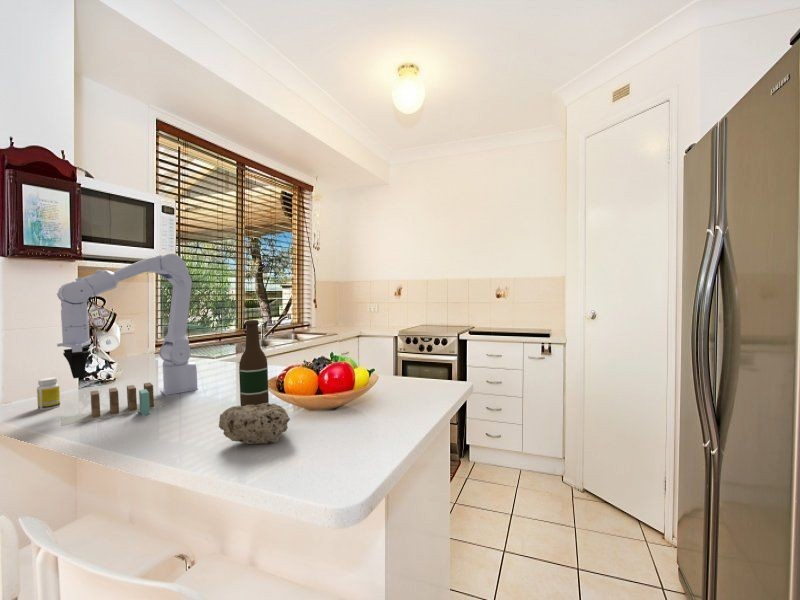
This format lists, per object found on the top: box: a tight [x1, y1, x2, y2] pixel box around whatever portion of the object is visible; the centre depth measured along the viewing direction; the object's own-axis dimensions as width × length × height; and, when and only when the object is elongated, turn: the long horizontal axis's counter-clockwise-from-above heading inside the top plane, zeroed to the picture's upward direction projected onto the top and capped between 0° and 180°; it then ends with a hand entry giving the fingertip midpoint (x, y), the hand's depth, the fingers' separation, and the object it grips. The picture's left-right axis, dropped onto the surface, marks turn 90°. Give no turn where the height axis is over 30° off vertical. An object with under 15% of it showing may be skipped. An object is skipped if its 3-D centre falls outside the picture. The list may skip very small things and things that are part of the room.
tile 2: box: [126, 384, 138, 411], centre depth 109 cm, size 2×5×6 cm, turn 41°
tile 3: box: [108, 387, 120, 414], centre depth 106 cm, size 2×5×6 cm, turn 41°
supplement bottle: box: [36, 376, 61, 411], centre depth 112 cm, size 5×5×8 cm
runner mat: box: [60, 399, 165, 427], centre depth 106 cm, size 22×8×1 cm, turn 131°
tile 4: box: [89, 389, 101, 418], centre depth 104 cm, size 2×5×6 cm, turn 41°
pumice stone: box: [218, 402, 291, 445], centre depth 84 cm, size 14×12×8 cm
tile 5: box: [138, 388, 151, 416], centre depth 105 cm, size 2×5×6 cm, turn 41°
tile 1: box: [143, 382, 155, 407], centre depth 112 cm, size 2×5×6 cm, turn 41°
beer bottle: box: [238, 319, 270, 406], centre depth 108 cm, size 8×8×24 cm
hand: (78, 375), depth 108 cm, fingers open, 7 cm apart
